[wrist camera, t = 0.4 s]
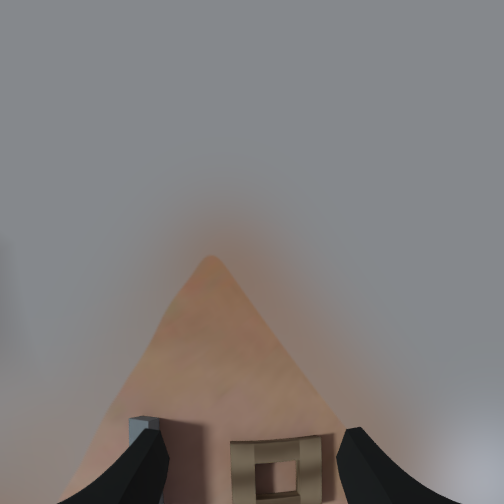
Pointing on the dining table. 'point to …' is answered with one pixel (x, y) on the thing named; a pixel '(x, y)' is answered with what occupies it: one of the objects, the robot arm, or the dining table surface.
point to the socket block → (269, 451)
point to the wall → (138, 426)
